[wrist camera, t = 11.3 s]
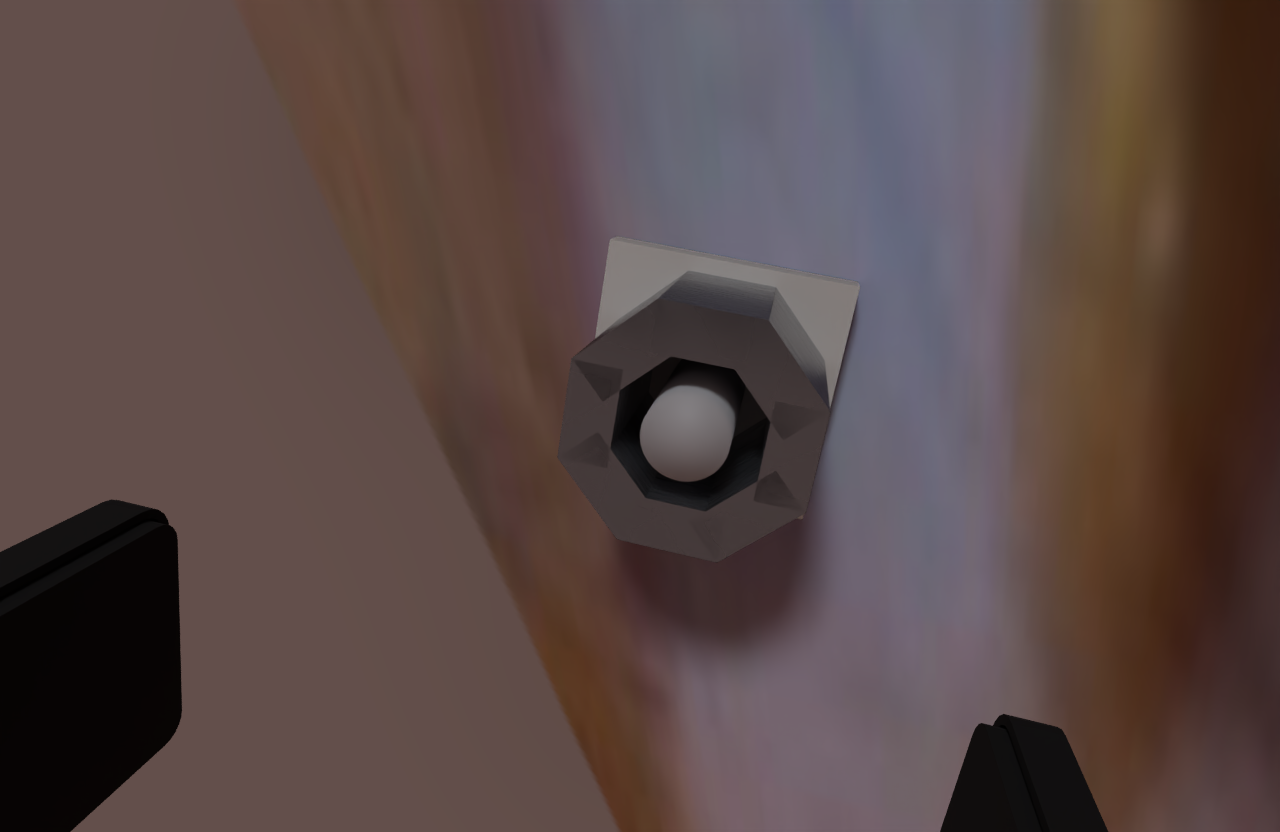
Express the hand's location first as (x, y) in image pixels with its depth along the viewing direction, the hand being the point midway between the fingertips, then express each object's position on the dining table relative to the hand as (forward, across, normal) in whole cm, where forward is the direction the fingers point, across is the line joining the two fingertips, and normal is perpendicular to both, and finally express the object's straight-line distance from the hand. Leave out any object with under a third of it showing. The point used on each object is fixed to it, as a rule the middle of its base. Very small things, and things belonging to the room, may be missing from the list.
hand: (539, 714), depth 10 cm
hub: (+19, 0, +1) cm, 19 cm away
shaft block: (+20, 0, +1) cm, 20 cm away
